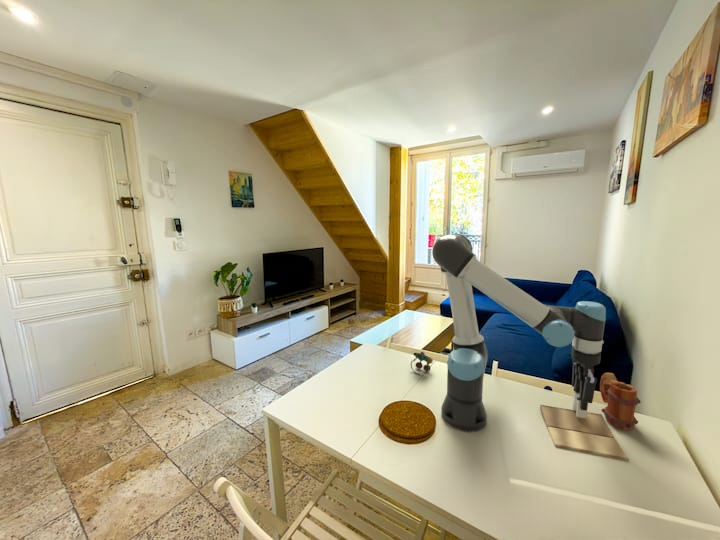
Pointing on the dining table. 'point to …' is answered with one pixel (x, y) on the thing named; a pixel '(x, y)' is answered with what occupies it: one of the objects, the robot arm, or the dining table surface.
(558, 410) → the plank
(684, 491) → the dining table surface
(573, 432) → the laid board
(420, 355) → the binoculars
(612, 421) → the mug
